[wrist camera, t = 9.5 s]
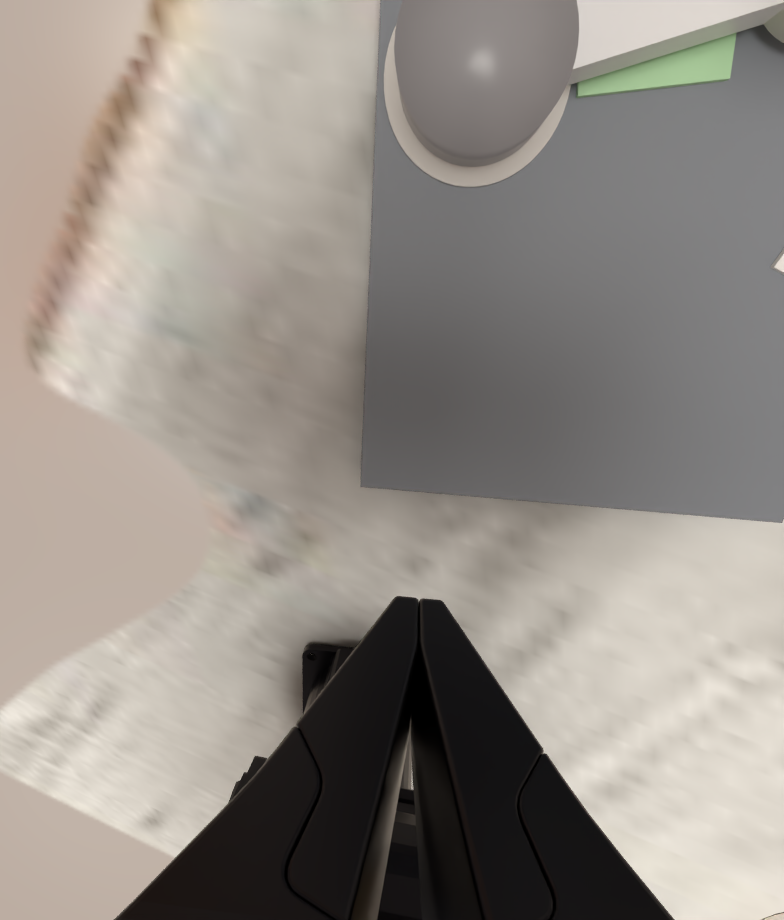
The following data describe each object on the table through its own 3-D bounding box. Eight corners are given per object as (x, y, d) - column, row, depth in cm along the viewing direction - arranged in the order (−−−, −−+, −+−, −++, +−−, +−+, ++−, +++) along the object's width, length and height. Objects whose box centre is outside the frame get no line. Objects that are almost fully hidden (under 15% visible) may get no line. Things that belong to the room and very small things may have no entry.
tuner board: (766, 512, 21) (785, 525, 20) (363, 478, 22) (359, 488, 21) (1064, -257, 13) (1125, -309, 12) (395, -268, 13) (392, -317, 12)
